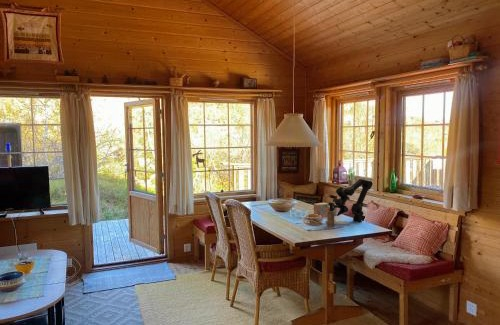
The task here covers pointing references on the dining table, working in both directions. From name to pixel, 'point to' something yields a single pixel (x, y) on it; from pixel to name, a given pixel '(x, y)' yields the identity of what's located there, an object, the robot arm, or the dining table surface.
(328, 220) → the walnut pillar
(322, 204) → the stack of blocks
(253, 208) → the dining table surface
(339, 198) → the robot arm
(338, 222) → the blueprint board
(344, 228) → the dining table surface
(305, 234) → the dining table surface
